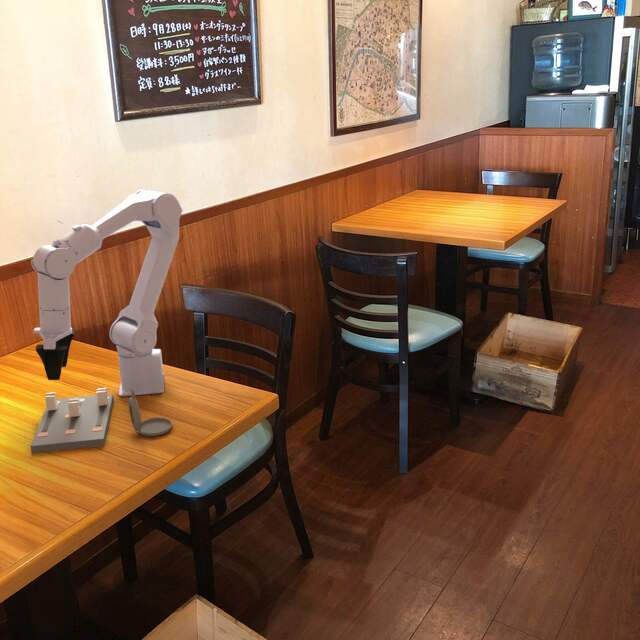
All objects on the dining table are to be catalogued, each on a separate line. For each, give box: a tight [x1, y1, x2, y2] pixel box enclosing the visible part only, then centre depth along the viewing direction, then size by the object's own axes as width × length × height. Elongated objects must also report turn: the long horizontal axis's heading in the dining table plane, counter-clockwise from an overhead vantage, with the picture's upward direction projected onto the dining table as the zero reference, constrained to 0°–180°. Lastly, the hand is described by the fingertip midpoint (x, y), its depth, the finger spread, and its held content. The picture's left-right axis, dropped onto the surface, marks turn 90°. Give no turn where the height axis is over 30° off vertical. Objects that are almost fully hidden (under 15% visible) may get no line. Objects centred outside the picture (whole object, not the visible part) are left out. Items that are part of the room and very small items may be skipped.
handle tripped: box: [68, 398, 81, 417], centre depth 138 cm, size 2×2×3 cm
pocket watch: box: [128, 387, 173, 437], centre depth 133 cm, size 8×8×10 cm
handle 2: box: [95, 387, 108, 406], centre depth 142 cm, size 2×2×3 cm
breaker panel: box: [30, 393, 115, 454], centre depth 137 cm, size 13×20×2 cm, turn 11°
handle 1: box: [44, 391, 58, 411], centre depth 140 cm, size 2×2×3 cm
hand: (57, 372), depth 138 cm, fingers open, 7 cm apart
